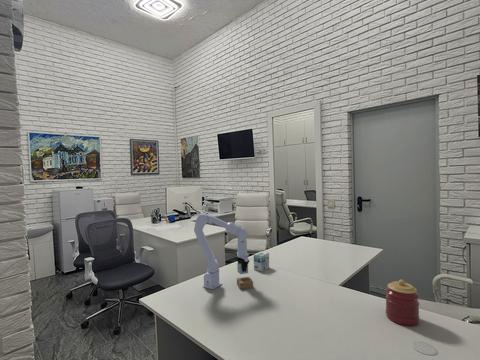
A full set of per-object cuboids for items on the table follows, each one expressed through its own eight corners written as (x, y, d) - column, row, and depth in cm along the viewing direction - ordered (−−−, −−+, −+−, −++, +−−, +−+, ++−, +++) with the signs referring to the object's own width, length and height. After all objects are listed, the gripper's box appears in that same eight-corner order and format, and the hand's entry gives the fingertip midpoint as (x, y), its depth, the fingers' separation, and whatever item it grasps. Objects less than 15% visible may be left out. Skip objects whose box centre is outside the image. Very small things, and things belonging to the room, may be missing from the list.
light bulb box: (261, 271, 181) (261, 256, 181) (253, 269, 185) (253, 254, 185) (269, 267, 189) (269, 252, 189) (261, 265, 193) (261, 250, 193)
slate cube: (248, 273, 160) (248, 264, 159) (240, 274, 158) (240, 266, 158) (245, 270, 164) (244, 262, 164) (237, 271, 162) (237, 263, 162)
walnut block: (253, 288, 155) (253, 281, 155) (239, 290, 153) (239, 283, 153) (249, 283, 163) (249, 276, 162) (236, 284, 161) (236, 278, 161)
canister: (403, 329, 111) (403, 287, 111) (379, 313, 124) (378, 276, 123) (426, 323, 115) (426, 283, 115) (401, 309, 127) (400, 273, 127)
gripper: (253, 249, 155) (253, 272, 156) (243, 244, 169) (244, 265, 169) (241, 251, 153) (242, 274, 153) (233, 245, 166) (233, 266, 167)
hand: (242, 269), depth 161 cm, fingers closed on slate cube, 5 cm apart
